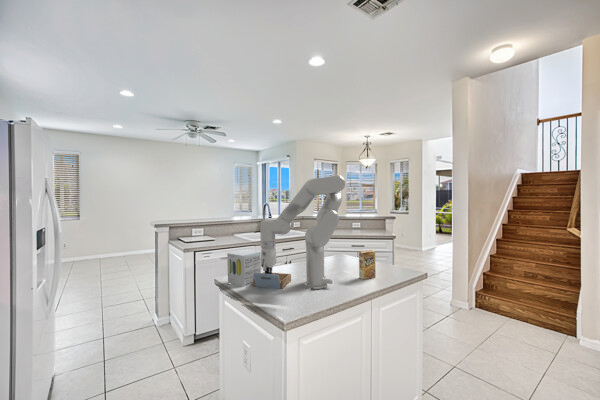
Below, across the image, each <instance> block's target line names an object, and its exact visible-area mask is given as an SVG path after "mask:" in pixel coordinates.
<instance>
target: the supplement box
mask: <svg viewBox="0 0 600 400" xmlns="http://www.w3.org/2000/svg"><path fill="white" fill-rule="evenodd" d="M226 255H227V257H226V258H227V284H228V283H231V284H230V285H236V286H239V287H244V288H245V287H247V286H250V285H252V284H253V285H254V275H253V274H254V273H262V269H261V268H262V267H261V250H252V249H247V248H246V249H245V248H244V249H239V250H238V249H237V250H234V251H231V252H227V253H226Z"/></svg>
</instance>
